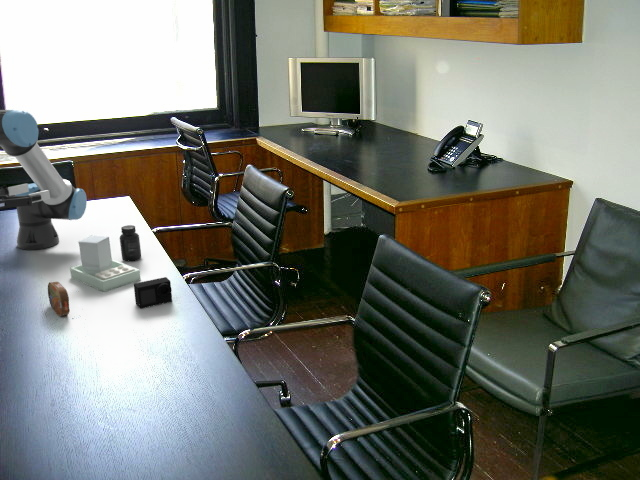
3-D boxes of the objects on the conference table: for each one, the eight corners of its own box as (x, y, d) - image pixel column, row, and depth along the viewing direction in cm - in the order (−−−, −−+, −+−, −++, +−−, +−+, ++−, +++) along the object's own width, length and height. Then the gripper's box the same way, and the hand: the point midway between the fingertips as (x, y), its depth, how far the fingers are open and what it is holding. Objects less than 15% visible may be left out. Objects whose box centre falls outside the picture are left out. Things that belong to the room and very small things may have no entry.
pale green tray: (71, 277, 265) (70, 267, 264) (107, 266, 275) (106, 257, 274) (103, 292, 252) (102, 281, 251) (140, 279, 262) (139, 269, 261)
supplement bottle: (144, 255, 285) (140, 224, 281) (138, 262, 278) (134, 230, 275) (125, 255, 286) (122, 224, 282) (119, 262, 279) (115, 229, 275)
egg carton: (96, 283, 258) (94, 271, 256) (124, 274, 265) (123, 262, 264) (106, 288, 254) (104, 275, 253) (134, 278, 261) (133, 266, 260)
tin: (48, 304, 244) (45, 278, 241) (58, 302, 246) (55, 276, 243) (62, 320, 232) (58, 294, 229) (72, 318, 234) (69, 291, 231)
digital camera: (140, 310, 238) (138, 288, 235) (135, 304, 242) (133, 283, 240) (173, 303, 242) (171, 281, 240) (167, 297, 247) (165, 276, 245)
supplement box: (114, 271, 268) (110, 236, 264) (101, 279, 262) (96, 243, 258) (95, 269, 271) (91, 234, 267) (82, 276, 264) (77, 241, 260)
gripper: (-44, 210, 244) (21, 195, 259) (-7, 225, 228) (60, 209, 242) (-48, 186, 242) (17, 173, 256) (-11, 200, 225) (56, 185, 240)
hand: (38, 190), depth 249 cm, fingers open, 13 cm apart
